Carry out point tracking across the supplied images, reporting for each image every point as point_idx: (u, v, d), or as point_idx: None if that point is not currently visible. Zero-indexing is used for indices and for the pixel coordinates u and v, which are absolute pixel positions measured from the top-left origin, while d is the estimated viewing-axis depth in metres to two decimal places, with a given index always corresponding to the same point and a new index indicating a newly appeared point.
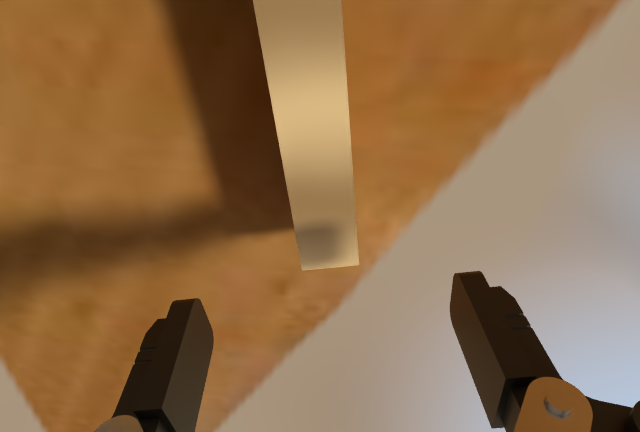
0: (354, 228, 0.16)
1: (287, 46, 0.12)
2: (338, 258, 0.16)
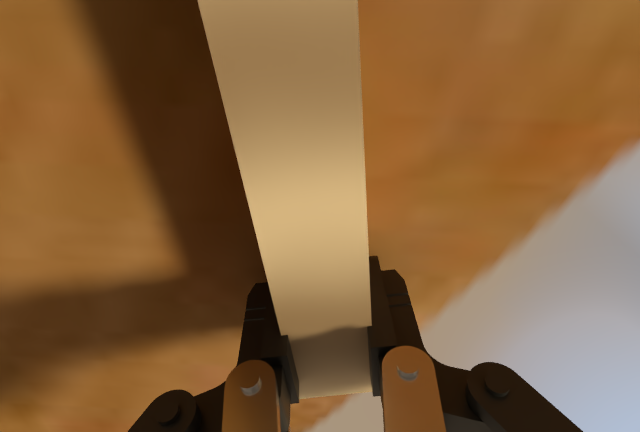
0: None
1: (271, 126, 0.07)
2: (346, 385, 0.12)
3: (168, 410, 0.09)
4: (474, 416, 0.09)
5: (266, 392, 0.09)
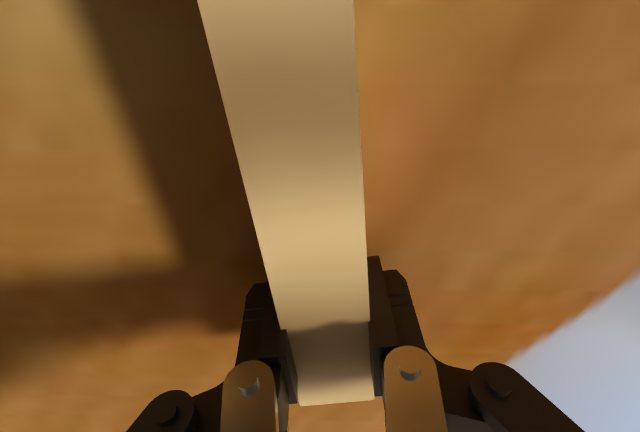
0: (369, 364, 0.12)
1: (276, 160, 0.08)
2: (347, 393, 0.13)
3: (166, 410, 0.09)
4: (476, 416, 0.09)
5: (264, 392, 0.09)
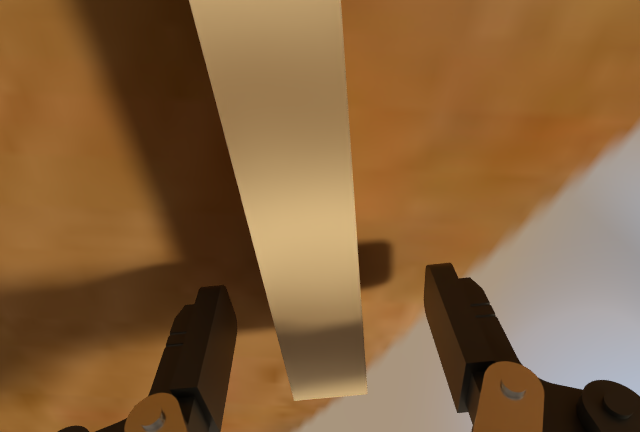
0: (362, 358, 0.12)
1: (268, 155, 0.08)
2: (341, 388, 0.13)
3: None
4: None
5: (166, 429, 0.09)
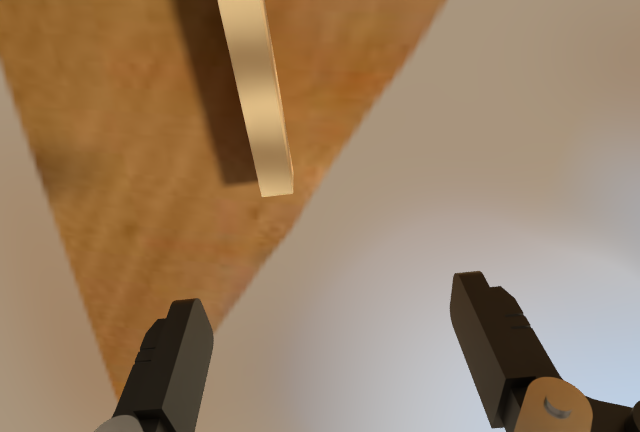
0: (288, 170, 0.29)
1: (247, 78, 0.26)
2: (281, 189, 0.30)
3: None
4: None
5: None
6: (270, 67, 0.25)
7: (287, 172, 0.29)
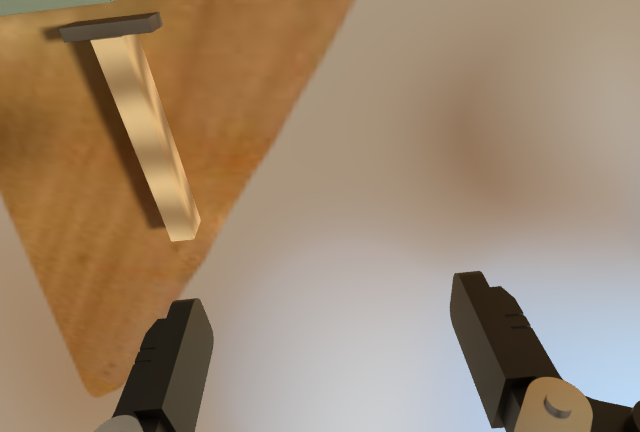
0: (187, 224, 0.41)
1: (149, 166, 0.37)
2: (184, 236, 0.42)
3: None
4: None
5: None
6: (165, 160, 0.37)
7: (187, 225, 0.41)
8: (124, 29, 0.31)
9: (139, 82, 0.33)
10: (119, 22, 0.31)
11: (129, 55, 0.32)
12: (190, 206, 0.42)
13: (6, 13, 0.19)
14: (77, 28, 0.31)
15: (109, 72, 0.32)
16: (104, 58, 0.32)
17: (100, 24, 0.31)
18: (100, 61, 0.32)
